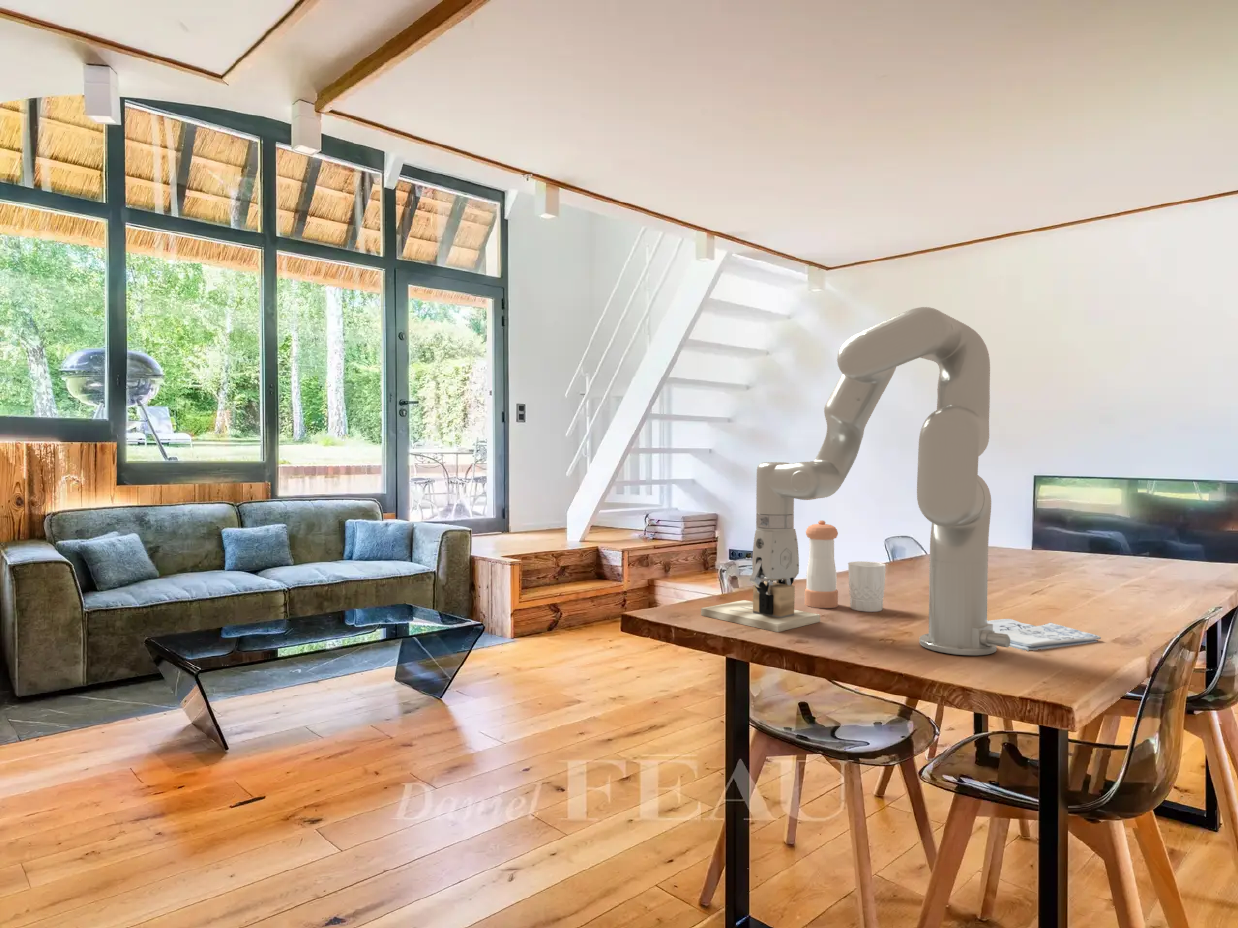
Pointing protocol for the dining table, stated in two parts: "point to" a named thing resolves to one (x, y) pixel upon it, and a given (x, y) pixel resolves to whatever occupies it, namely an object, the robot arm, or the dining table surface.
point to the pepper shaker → (821, 567)
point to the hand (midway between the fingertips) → (774, 610)
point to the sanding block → (778, 600)
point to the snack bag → (1040, 635)
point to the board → (758, 616)
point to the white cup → (866, 585)
